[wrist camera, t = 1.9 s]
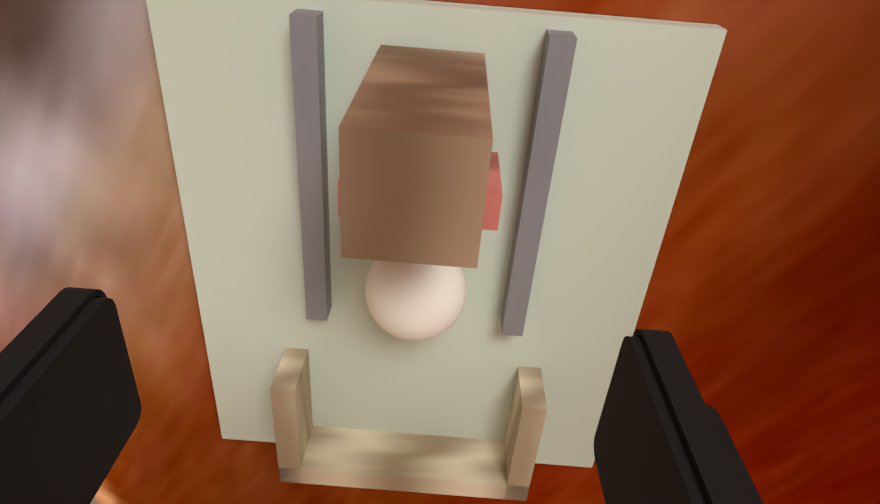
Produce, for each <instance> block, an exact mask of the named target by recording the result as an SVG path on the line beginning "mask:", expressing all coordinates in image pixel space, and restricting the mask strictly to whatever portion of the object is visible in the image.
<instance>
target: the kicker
mask: <svg viewBox="0 0 880 504" xmlns="http://www.w3.org/2000/svg"><path fill="white" fill-rule="evenodd" d="M492 145H493V133H492V123H491V113H490V102H489V92H488V82H487V72H486V62H485V53H477V52H465V51H453V50H441V49H428V48H416V47H404V46H392V45H380V47H379V49H378V51H377V53H376V55H375V57H374V59H373V61H372V63H371V65H370V67H369V69H368V70H367V72H366V74H365V76H364V78H363V80H362V82H361V84H360V86H359V88H358V90H357V92H356V94H355V96H354V98H353V100H352V102H351V104H350V106H349V107H348V109H347V111H346V113H345V115H344V117H343V119H342V121H341V123H340V125H339V180H338V217H339V218H340V236H341V258H353V259H365V260H378V261H390V262H402V263H415V264H427V265H440V266H452V267H464V268H477V266H478V258H479V249H480V241H481V233H482V230H495V231H498V225H499V217H500V210H501V203H502V196H503V194H502V185H501V176H500V167H499V158H498V152H492Z"/></svg>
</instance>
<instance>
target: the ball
mask: <svg viewBox="0 0 880 504" xmlns="http://www.w3.org/2000/svg"><path fill="white" fill-rule="evenodd" d="M466 294H467V287H466V279H465V276H464V272H463V270H462V268H461V267H452V266H440V265H427V264H415V263H402V262H390V261H378V260H375V261H374V262H373V264H372V266H371V267H370V270H369V272H368V275H367V278H366V284H365V297H366V302H367V306H368V309H369V311H370V313H371V315H372V317H373V318H374V320H375V321H376V323H377V324H378V325H379V326H380V327H381V328H382V329H383V330H385V331H386V332H387V333H389V334H391V335H392V336H395V337H397V338H400V339H403V340H408V341H424V340H429V339H432V338H435V337H437V336H439V335H441V334H443V333H444V332H446V331H447V330H448V329H449V328H450V327H451V326H452V325H453V324H454V323H455V322H456V321H457V319H458V318H459V316H460V314H461V313H462V310H463V308H464V305H465V301H466Z"/></svg>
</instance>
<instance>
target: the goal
mask: <svg viewBox="0 0 880 504" xmlns="http://www.w3.org/2000/svg"><path fill="white" fill-rule="evenodd" d="M270 393H271V402H272V412H273V421H274V431H275V440H276V450H277V459H278V468H279V478H280V482H291V483H304V484H317V485H329V486H342V487H355V488H368V489H380V490H393V491H406V492H418V493H431V494H444V495H457V496H469V497H482V498H495V499H507V500H520V501H526V499H527V495H528V491H529V486H530V482H531V478H532V473H533V469H534V465H535V460H536V456H537V452H538V448H539V443H540V439H541V435H542V430H543V426H544V422H545V417H546V413H547V406H546V400H545V393H544V386H543V380H542V373H541V368H536V367H523V366H518V369H517V375H516V380H515V386H514V391H513V396H512V402H511V407H510V412H509V418H508V423H507V429H506V434H505V439H504V441H499V440H486V439H474V438H461V437H448V436H436V435H423V434H411V433H398V432H385V431H373V430H360V429H347V428H335V427H322V426H313V420H312V402H311V385H310V368H309V350H308V349H298V348H285V351H284V353H283V356H282V359H281V361H280V364H279V366H278V369H277V372H276V374H275V377H274V379H273V382H272V385H271V387H270Z"/></svg>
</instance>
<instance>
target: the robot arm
mask: <svg viewBox="0 0 880 504" xmlns="http://www.w3.org/2000/svg"><path fill="white" fill-rule="evenodd" d="M140 414H141V403H140V399H139V395H138V391H137V387H136V383H135V379H134V375H133V371H132V367H131V364H130V360H129V356H128V352H127V348H126V344H125V340H124V336H123V332H122V328H121V325H120V321H119V317H118V313H117V309H116V305H115V303H114V301H113V300H112V299H110V298H107V297H106V295H105V293H104V292H103V291H102V290H99V289H85V288H72V287H68V288H64V289H63V290H62V291H60V292H59V293H58V294H57V295H56V296H55V297H54V298H53V299H52V300H51V301H50V302H49V303H48V304H47V305H46V306H45V308H44V309H43V310H42V311H41V312H40V313H39V314H38V315H37V316H36V317H35V318H34V319H33V320H32V321H31V322H30V323H29V324H28V325H27V326H26V327H25V328H24V329H23V330H22V331H21V332H20V333H19V334H18V335H17V336H16V337H15V338H14V339H13V340H12V341H11V342H10V343H9V344H8V345H7V346H6V347H5V348H4V349H3V350H2V351H1V353H0V504H90V503H91V501H92V499H93V498H94V496H95V494H96V493H97V491H98V489H99V488H100V486H101V484H102V483H103V481H104V479H105V478H106V476H107V474H108V473H109V471H110V469H111V467H112V466H113V464H114V462H115V461H116V459H117V457H118V456H119V454H120V452H121V451H122V449H123V447H124V446H125V444H126V442H127V441H128V439H129V437H130V436H131V434H132V432H133V430H134V429H135V427H136V425H137V423H138V421H139V418H140ZM594 456H595V461H596V465H597V469H598V473H599V477H600V482H601V486H602V490H603V494H604V498H605V503H606V504H763V502H762V500H761V498H760V496H759V494H758V492H757V490H756V488H755V486H754V484H753V481H752V479H751V477H750V475H749V473H748V471H747V469H746V467H745V465H744V463H743V461H742V459H741V457H740V455H739V453H738V451H737V449H736V447H735V445H734V443H733V441H732V439H731V437H730V435H729V433H728V431H727V429H726V427H725V425H724V423H723V421H722V419H721V417H720V415H719V414H718V412H717V411H716V410H715V409H714V408H713V407H711V406H706V405H705V403H704V401H703V399H702V397H701V395H700V393H699V391H698V389H697V386H696V384H695V382H694V380H693V378H692V376H691V374H690V372H689V370H688V367H687V365H686V363H685V361H684V359H683V357H682V355H681V353H680V351H679V348H678V346H677V344H676V342H675V340H674V338H673V336H672V334H671V333H670V332H668V331H660V330H646V329H637V330H636V331H635V332H634V334H633V336H625V337H624V339H623V341H622V344H621V348H620V351H619V355H618V358H617V361H616V365H615V368H614V372H613V375H612V378H611V382H610V385H609V389H608V392H607V395H606V399H605V402H604V406H603V409H602V412H601V416H600V419H599V423H598V426H597V429H596V433H595V437H594Z"/></svg>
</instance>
